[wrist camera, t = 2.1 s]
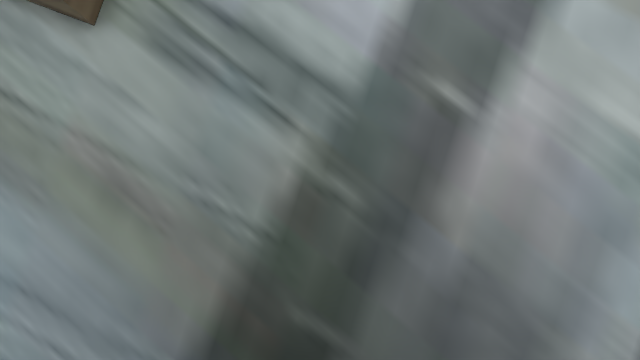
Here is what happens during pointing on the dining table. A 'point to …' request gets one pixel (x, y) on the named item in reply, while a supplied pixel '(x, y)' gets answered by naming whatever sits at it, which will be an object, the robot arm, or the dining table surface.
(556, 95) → the dining table surface
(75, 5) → the hole block
